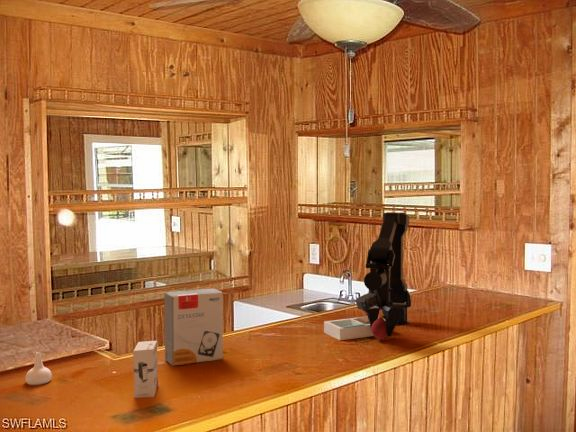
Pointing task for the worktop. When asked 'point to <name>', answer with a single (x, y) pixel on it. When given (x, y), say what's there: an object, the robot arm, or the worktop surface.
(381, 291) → the robot arm
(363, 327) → the white divided tray
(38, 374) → the garlic bulb
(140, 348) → the ink box
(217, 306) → the hard drive box
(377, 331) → the onion
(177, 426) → the worktop surface
